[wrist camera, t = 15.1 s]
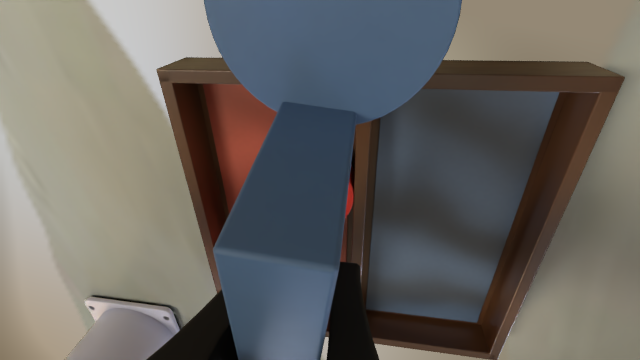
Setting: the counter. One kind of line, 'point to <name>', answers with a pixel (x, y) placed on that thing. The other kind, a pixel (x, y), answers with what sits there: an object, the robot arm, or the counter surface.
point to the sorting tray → (422, 186)
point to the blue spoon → (309, 148)
